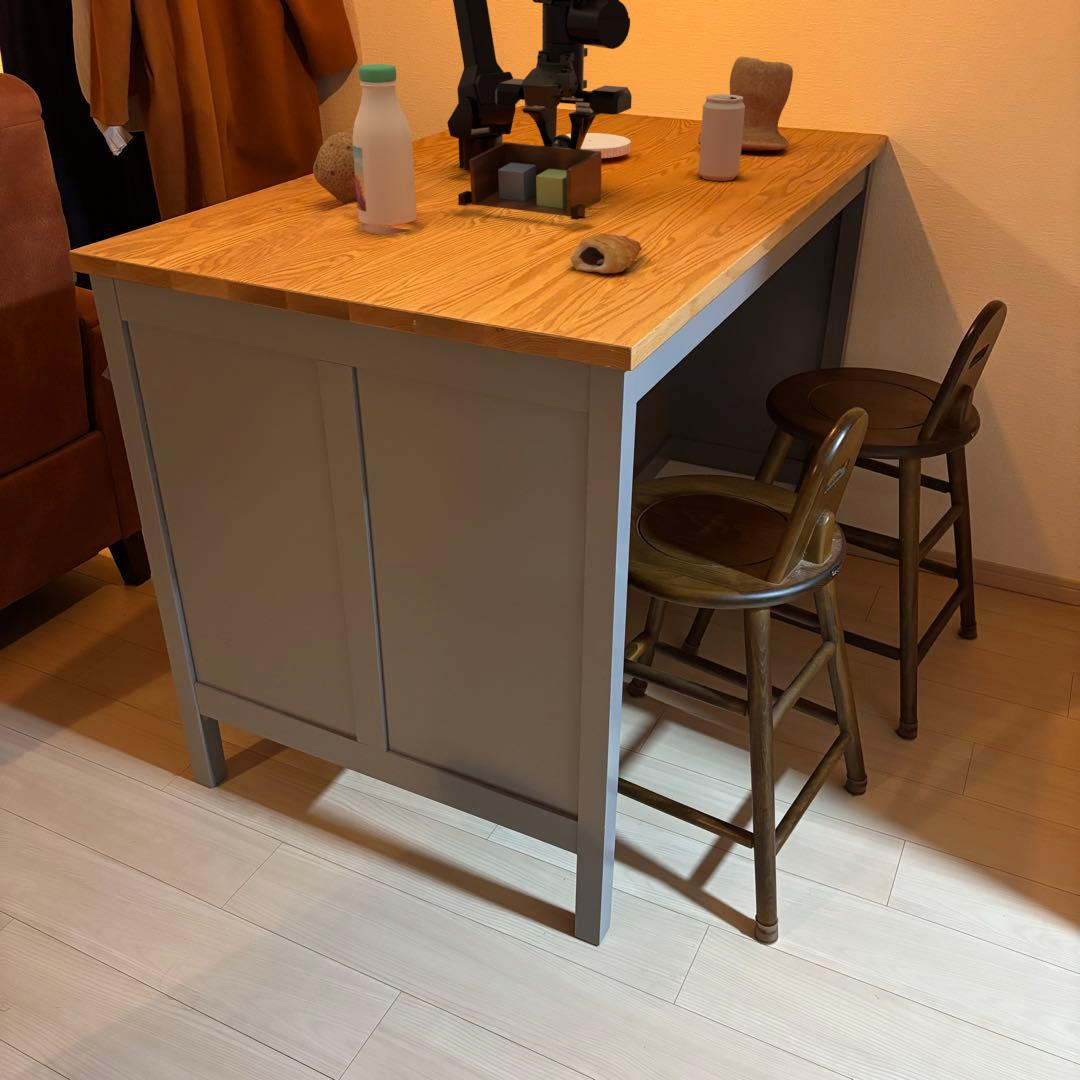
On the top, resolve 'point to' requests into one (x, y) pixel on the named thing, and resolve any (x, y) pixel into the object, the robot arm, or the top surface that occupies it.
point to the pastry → (605, 253)
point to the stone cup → (761, 101)
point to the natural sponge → (337, 167)
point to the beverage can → (721, 137)
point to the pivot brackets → (576, 211)
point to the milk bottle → (382, 154)
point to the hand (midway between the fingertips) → (562, 160)
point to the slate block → (517, 181)
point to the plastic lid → (606, 144)
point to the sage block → (552, 188)
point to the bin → (559, 156)
